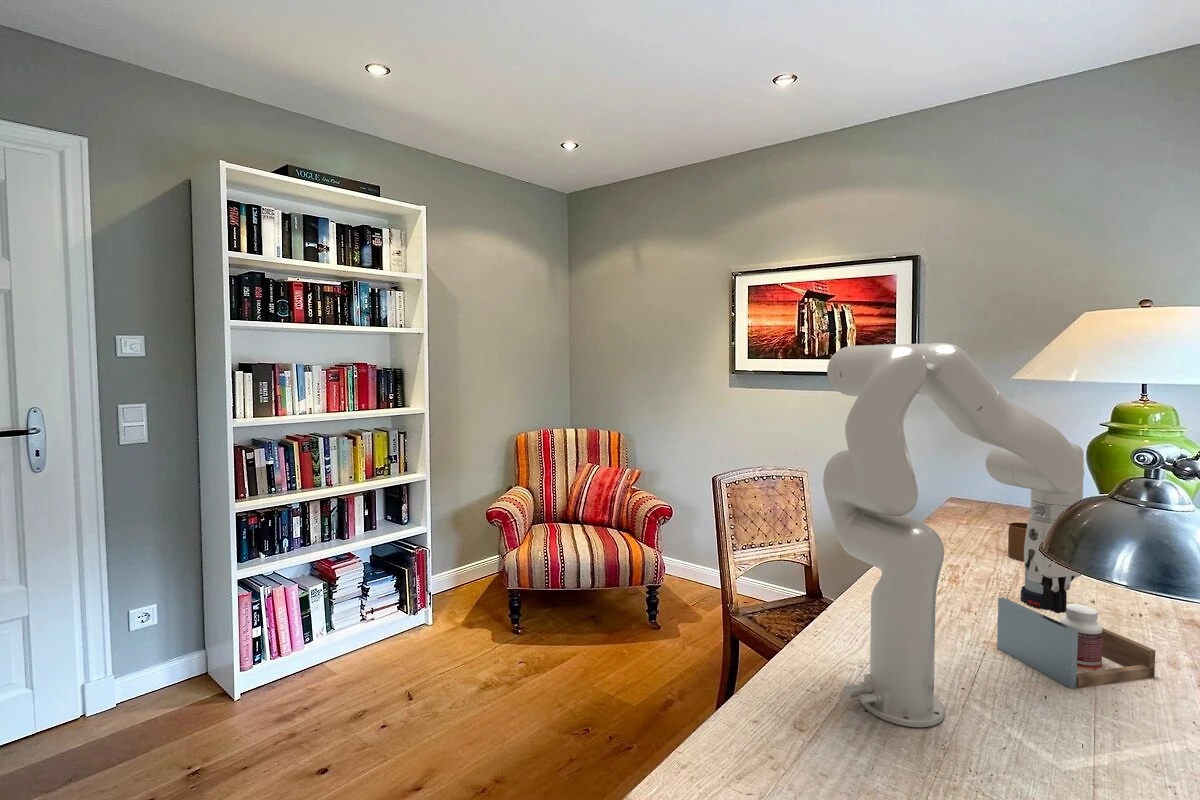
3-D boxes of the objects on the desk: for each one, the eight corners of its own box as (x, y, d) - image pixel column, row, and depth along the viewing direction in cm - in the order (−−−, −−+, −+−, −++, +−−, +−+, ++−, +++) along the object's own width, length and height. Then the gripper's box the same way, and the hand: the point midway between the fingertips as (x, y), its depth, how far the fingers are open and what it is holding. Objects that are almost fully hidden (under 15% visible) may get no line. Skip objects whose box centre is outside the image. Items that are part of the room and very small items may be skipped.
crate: (1078, 694, 105) (1079, 660, 104) (1002, 652, 120) (1003, 622, 119) (1154, 683, 108) (1155, 650, 107) (1070, 644, 123) (1071, 614, 122)
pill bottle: (1106, 669, 113) (1109, 610, 112) (1093, 679, 110) (1096, 618, 109) (1066, 655, 118) (1068, 599, 118) (1053, 664, 115) (1055, 607, 114)
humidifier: (1025, 607, 141) (1029, 499, 139) (1016, 594, 149) (1019, 492, 147) (1069, 612, 138) (1072, 502, 136) (1057, 599, 146) (1060, 494, 144)
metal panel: (1070, 688, 104) (1072, 631, 104) (997, 648, 119) (998, 597, 119) (1076, 687, 105) (1078, 630, 104) (1002, 647, 119) (1003, 597, 119)
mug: (1059, 559, 173) (1060, 526, 173) (1060, 567, 167) (1061, 533, 166) (1008, 552, 180) (1009, 520, 180) (1007, 559, 174) (1008, 526, 173)
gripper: (1039, 519, 106) (1038, 623, 107) (1111, 512, 109) (1108, 613, 110) (1003, 509, 113) (1002, 606, 114) (1070, 502, 116) (1069, 597, 117)
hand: (1054, 609), depth 112 cm, fingers closed
